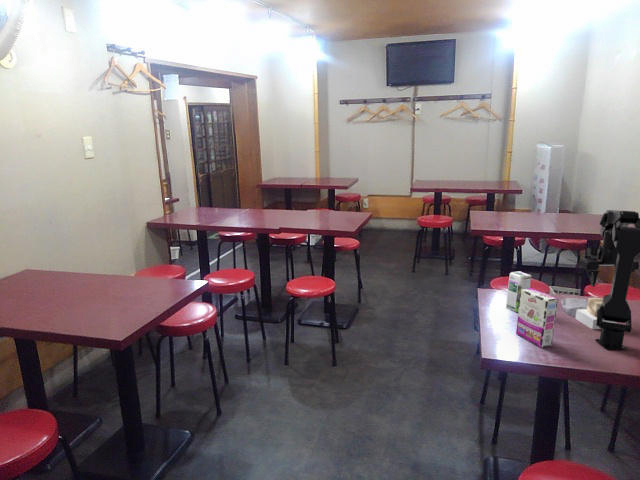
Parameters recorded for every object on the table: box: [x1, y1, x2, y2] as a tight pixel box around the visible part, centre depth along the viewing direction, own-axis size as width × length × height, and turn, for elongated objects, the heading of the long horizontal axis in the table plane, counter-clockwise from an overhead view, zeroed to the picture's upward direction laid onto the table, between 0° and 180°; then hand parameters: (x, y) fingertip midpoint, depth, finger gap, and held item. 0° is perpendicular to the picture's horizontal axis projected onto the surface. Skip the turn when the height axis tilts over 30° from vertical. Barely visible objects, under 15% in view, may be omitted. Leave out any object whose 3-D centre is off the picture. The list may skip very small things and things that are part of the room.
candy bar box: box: [515, 287, 559, 349], centre depth 148 cm, size 11×5×16 cm, turn 21°
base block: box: [575, 309, 618, 330], centre depth 162 cm, size 9×9×4 cm
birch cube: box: [587, 297, 603, 317], centre depth 160 cm, size 5×5×5 cm
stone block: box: [561, 297, 588, 317], centre depth 173 cm, size 12×5×10 cm
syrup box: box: [505, 271, 532, 313], centre depth 173 cm, size 6×6×14 cm
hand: (605, 286), depth 164 cm, fingers open, 9 cm apart
